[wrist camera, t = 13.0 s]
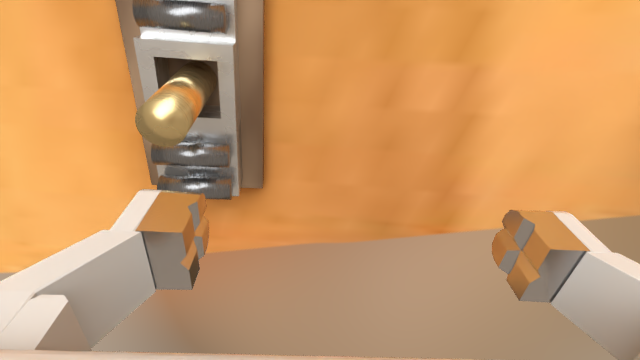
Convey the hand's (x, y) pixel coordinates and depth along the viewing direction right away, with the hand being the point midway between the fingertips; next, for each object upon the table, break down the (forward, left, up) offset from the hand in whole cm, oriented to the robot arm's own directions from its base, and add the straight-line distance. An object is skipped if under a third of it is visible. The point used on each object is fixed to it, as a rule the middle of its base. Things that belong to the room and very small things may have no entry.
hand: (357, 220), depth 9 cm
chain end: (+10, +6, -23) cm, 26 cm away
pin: (+9, +3, -23) cm, 25 cm away
